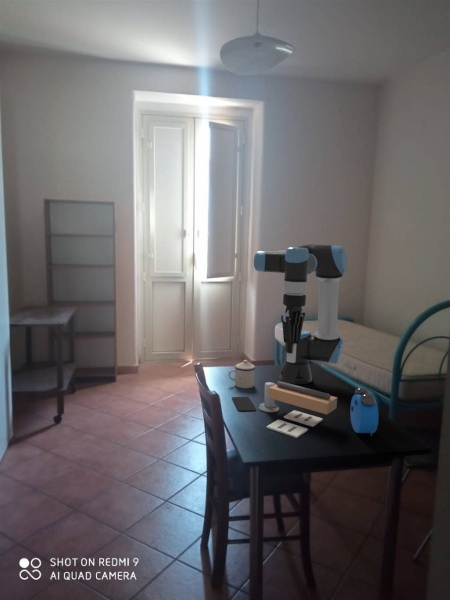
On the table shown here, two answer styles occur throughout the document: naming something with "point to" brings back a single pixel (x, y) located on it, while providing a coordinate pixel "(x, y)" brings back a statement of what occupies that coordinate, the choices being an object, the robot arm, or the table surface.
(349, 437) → the table surface
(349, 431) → the table surface
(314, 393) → the wooden beam with rod
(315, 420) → the plate
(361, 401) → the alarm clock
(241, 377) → the teacup with lid
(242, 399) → the phone
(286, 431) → the plate
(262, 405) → the base
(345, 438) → the table surface
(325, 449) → the table surface
